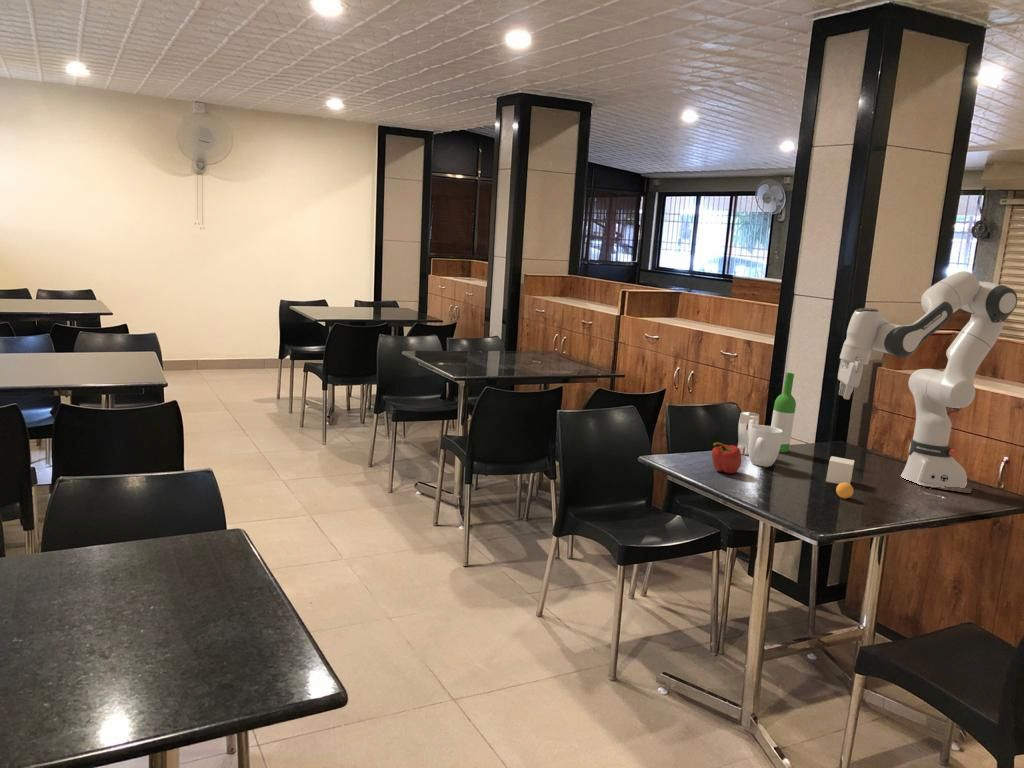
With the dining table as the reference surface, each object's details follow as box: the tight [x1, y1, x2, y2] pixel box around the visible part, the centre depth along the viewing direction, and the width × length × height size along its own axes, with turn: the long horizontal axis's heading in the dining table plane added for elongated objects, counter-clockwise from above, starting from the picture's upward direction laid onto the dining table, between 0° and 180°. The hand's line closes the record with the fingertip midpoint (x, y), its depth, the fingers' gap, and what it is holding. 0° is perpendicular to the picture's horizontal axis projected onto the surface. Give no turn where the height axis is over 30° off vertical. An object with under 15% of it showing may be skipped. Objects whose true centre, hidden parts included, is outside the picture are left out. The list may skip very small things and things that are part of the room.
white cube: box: [825, 455, 855, 485], centre depth 276 cm, size 7×7×7 cm
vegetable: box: [711, 441, 742, 474], centre depth 274 cm, size 11×10×10 cm
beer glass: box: [736, 411, 760, 456], centre depth 302 cm, size 7×7×15 cm
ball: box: [835, 482, 854, 499], centre depth 257 cm, size 5×5×5 cm
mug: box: [748, 424, 783, 468], centre depth 286 cm, size 15×11×13 cm
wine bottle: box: [770, 372, 797, 454], centre depth 310 cm, size 8×8×30 cm
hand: (843, 397), depth 270 cm, fingers open, 8 cm apart
